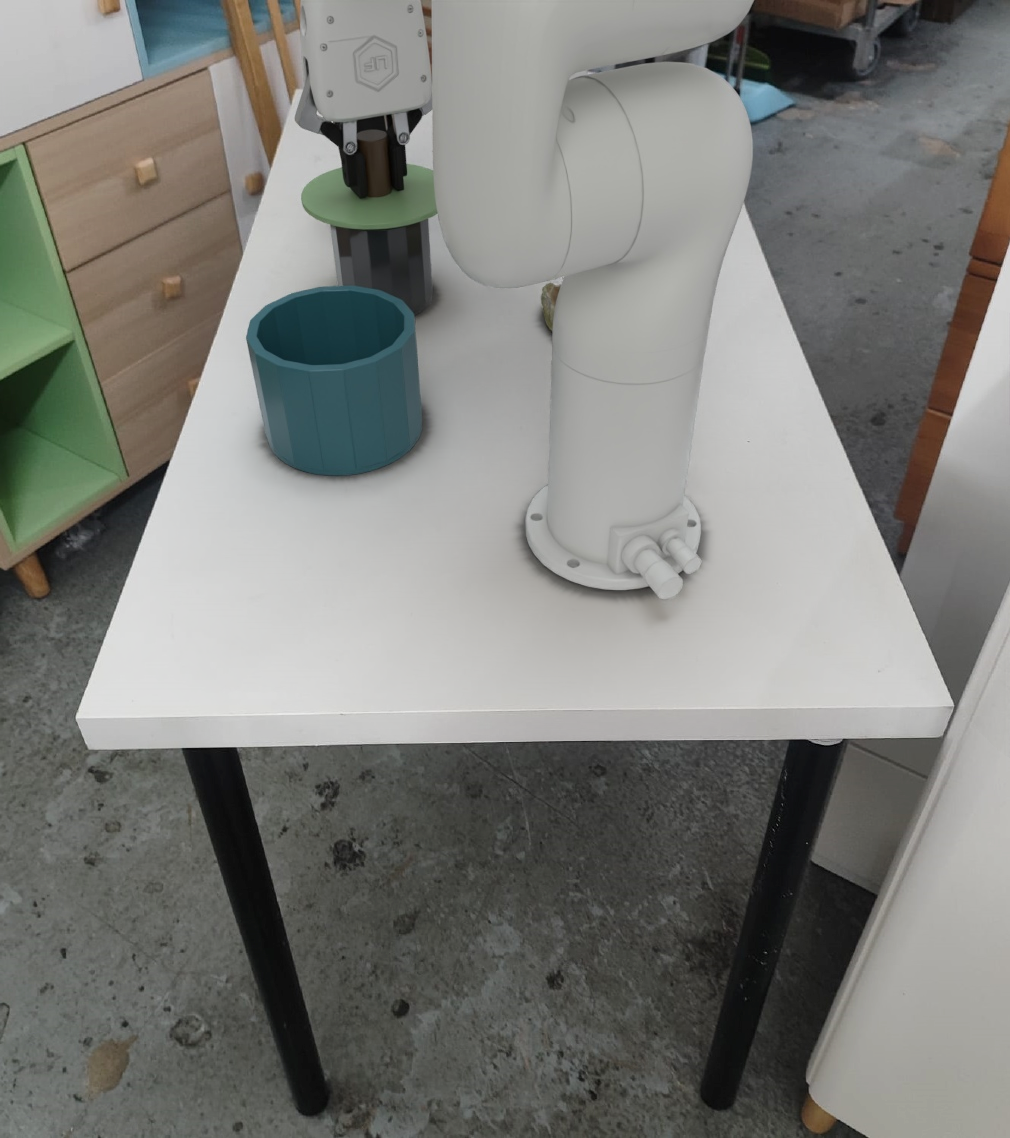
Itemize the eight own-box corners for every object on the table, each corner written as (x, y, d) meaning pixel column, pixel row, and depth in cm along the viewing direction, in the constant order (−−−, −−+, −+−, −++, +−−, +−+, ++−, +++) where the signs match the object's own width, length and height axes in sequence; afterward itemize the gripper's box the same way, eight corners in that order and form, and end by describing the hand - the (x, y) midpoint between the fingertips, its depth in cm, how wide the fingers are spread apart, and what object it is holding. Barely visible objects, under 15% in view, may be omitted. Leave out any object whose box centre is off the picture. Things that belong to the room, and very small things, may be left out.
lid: (476, 217, 91) (474, 148, 87) (331, 248, 87) (322, 177, 83) (418, 163, 100) (413, 98, 96) (283, 189, 96) (273, 122, 92)
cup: (447, 308, 99) (443, 218, 93) (359, 329, 96) (348, 238, 90) (412, 269, 105) (405, 181, 98) (328, 288, 102) (316, 199, 96)
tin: (446, 449, 82) (440, 344, 76) (294, 493, 78) (275, 387, 72) (389, 372, 90) (379, 272, 84) (249, 409, 86) (227, 307, 80)
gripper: (267, -18, 75) (303, 223, 88) (469, -44, 80) (475, 187, 93) (240, -41, 80) (277, 190, 93) (432, -64, 85) (442, 158, 98)
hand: (376, 187), depth 93 cm, fingers closed on lid, 2 cm apart
